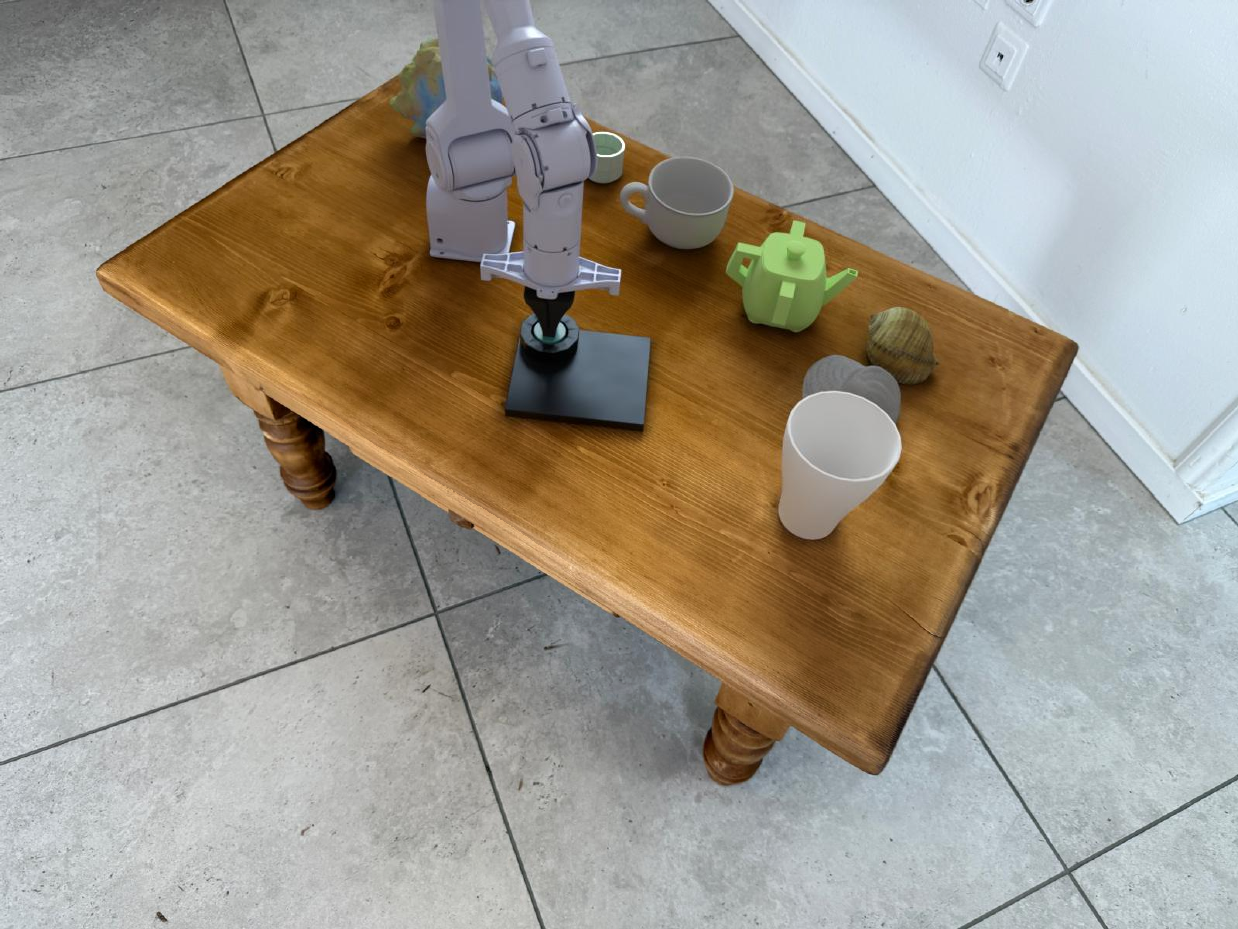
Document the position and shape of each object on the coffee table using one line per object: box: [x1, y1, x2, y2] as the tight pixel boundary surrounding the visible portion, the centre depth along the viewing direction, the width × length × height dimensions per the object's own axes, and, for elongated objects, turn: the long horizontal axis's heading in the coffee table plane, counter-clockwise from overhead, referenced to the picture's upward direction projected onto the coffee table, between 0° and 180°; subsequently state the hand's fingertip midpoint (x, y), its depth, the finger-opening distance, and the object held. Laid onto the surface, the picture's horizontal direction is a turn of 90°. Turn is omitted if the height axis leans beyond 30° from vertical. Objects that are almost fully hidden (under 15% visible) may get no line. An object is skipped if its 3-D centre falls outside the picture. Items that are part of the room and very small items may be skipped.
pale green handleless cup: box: [588, 131, 626, 184], centre depth 120 cm, size 6×6×4 cm
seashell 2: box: [865, 306, 940, 386], centre depth 103 cm, size 10×7×8 cm
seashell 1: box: [801, 354, 902, 426], centre depth 97 cm, size 12×6×10 cm
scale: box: [504, 312, 652, 432], centre depth 98 cm, size 15×14×3 cm
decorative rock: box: [389, 36, 503, 140], centre depth 119 cm, size 14×16×15 cm
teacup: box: [619, 156, 735, 250], centre depth 112 cm, size 14×11×8 cm
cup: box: [778, 391, 903, 541], centre depth 85 cm, size 10×10×14 cm
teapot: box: [725, 220, 859, 333], centre depth 105 cm, size 12×12×10 cm
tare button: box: [534, 322, 566, 345], centre depth 100 cm, size 4×4×2 cm
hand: (549, 330), depth 99 cm, fingers closed, pressing on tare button
